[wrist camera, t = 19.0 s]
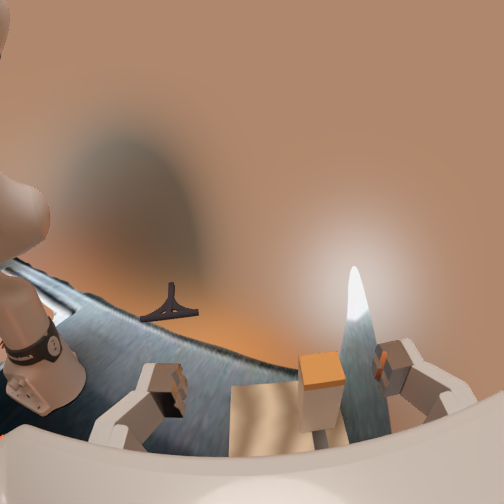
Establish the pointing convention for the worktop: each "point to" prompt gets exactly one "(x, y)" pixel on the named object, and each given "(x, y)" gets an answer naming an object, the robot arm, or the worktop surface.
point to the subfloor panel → (274, 423)
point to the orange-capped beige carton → (319, 390)
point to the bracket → (170, 309)
